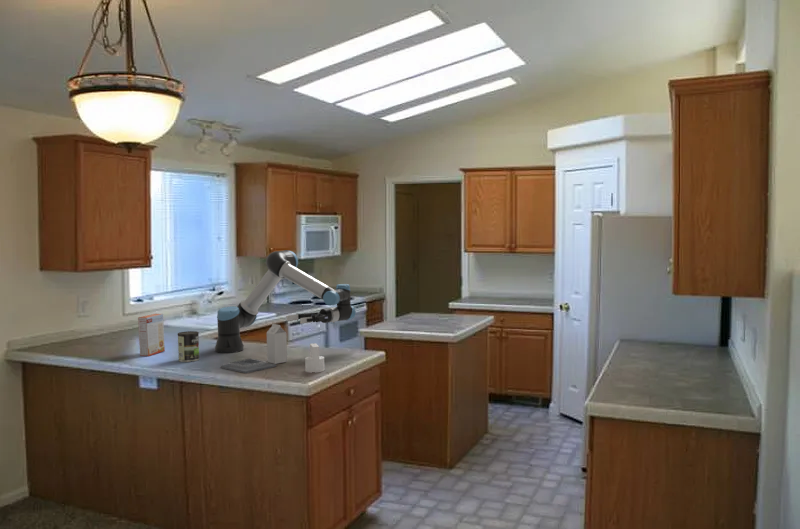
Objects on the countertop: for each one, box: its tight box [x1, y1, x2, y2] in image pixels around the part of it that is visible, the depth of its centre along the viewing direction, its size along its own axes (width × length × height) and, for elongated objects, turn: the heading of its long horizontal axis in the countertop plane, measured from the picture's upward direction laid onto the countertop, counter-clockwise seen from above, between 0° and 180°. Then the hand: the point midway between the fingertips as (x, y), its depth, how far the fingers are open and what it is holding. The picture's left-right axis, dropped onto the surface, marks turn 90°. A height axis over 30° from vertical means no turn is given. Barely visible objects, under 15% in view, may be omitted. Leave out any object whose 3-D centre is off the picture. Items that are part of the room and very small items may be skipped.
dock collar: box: [229, 358, 268, 369], centre depth 321 cm, size 12×12×2 cm
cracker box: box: [137, 313, 166, 357], centre depth 357 cm, size 14×6×21 cm, turn 163°
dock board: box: [219, 362, 277, 374], centre depth 321 cm, size 20×18×1 cm
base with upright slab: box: [304, 343, 325, 374], centre depth 312 cm, size 9×9×12 cm
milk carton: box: [266, 323, 288, 365], centre depth 331 cm, size 7×7×19 cm
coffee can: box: [177, 330, 200, 363], centre depth 340 cm, size 10×10×14 cm
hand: (293, 319), depth 336 cm, fingers open, 13 cm apart
